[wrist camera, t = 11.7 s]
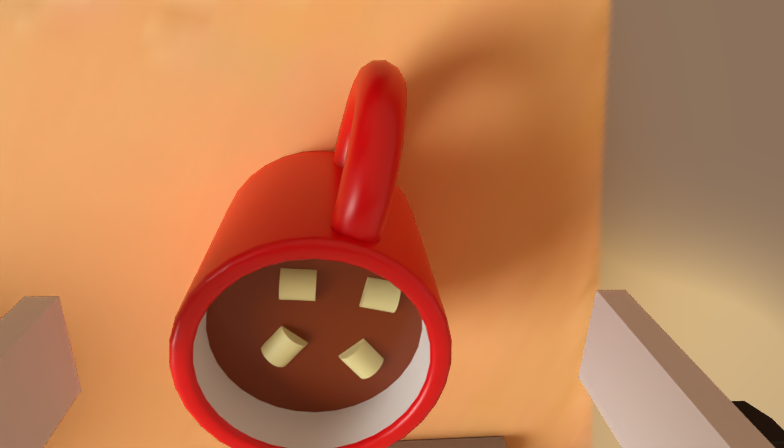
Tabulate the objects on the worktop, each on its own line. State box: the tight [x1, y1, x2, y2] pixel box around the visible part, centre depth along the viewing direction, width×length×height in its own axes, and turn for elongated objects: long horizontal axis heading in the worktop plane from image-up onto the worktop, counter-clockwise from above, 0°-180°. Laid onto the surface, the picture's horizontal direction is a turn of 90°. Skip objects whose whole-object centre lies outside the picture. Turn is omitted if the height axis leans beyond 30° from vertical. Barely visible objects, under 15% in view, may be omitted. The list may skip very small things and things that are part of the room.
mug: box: [169, 60, 452, 448], centre depth 18 cm, size 8×12×8 cm, turn 165°
